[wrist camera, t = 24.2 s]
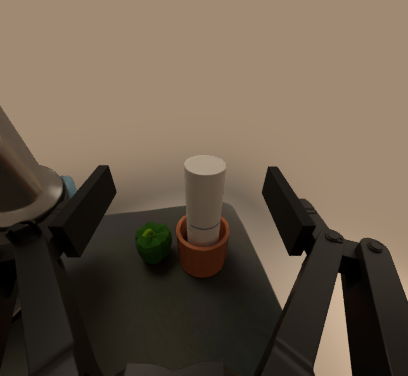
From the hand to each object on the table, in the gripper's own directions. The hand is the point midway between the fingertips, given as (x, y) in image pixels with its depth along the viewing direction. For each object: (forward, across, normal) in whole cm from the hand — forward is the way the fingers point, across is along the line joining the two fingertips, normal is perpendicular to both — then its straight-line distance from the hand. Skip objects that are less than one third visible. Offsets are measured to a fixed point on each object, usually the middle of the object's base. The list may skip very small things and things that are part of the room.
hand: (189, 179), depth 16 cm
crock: (+16, +2, -33) cm, 37 cm away
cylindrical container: (+15, +2, -32) cm, 36 cm away
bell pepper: (+16, -10, -33) cm, 38 cm away
